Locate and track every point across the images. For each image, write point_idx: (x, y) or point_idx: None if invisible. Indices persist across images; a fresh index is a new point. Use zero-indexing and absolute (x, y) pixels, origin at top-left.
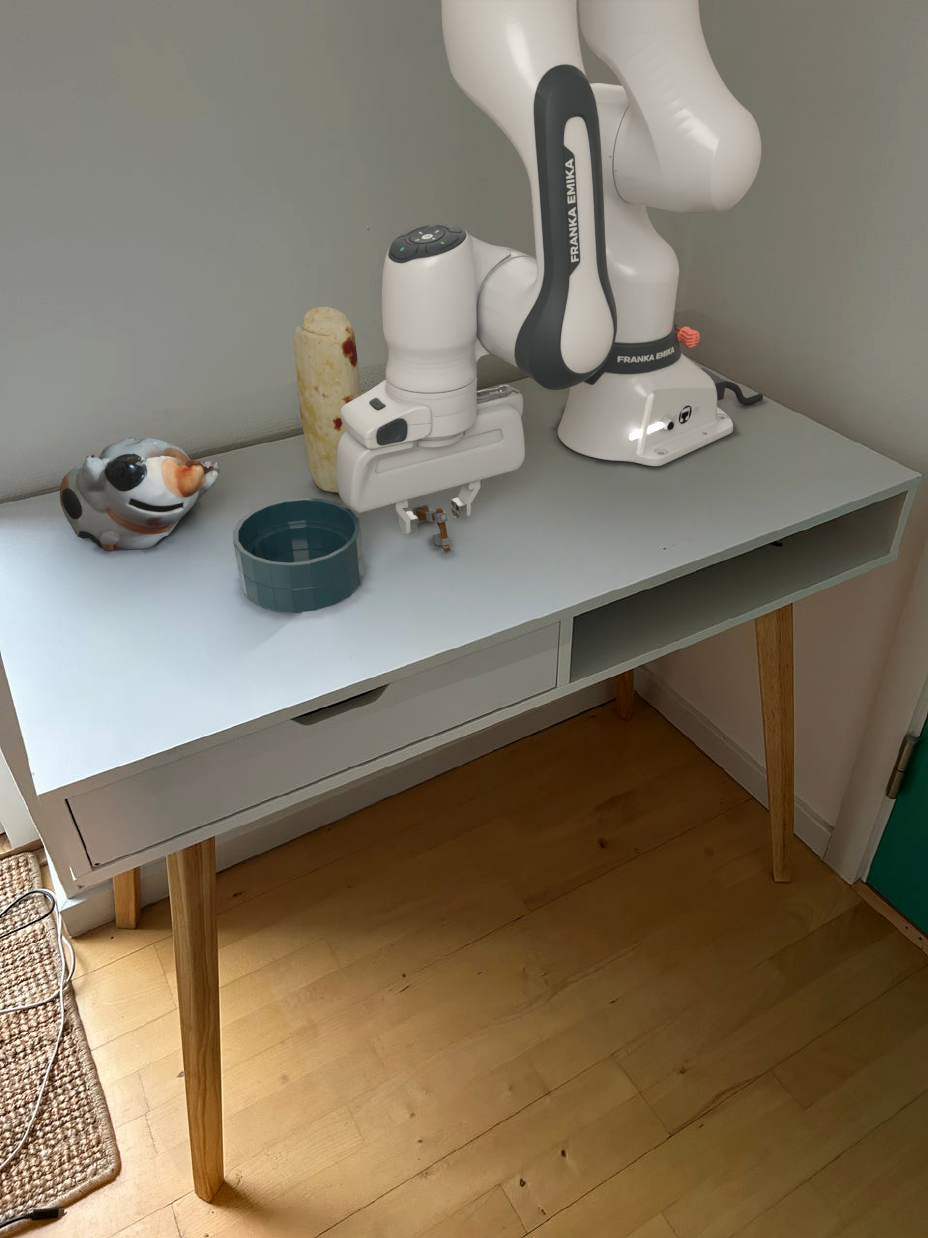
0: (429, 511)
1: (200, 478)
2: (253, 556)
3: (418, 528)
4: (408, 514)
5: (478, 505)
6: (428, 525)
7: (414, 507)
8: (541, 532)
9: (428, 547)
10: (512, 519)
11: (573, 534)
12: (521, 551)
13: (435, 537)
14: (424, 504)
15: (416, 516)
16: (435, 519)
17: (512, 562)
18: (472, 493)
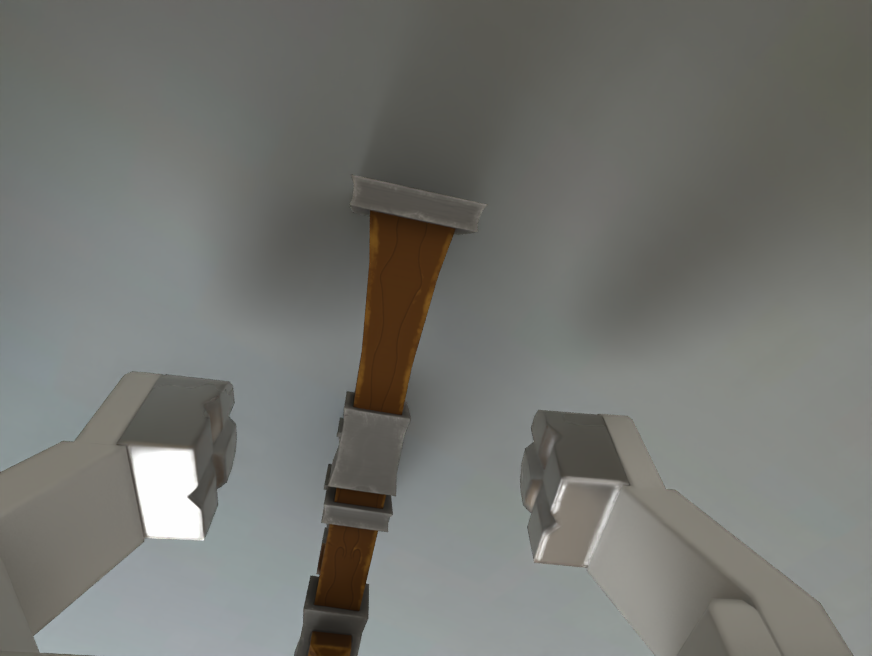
0: (374, 413)
1: None
2: None
3: (228, 473)
4: (152, 481)
5: (828, 244)
6: None
7: (364, 193)
8: (788, 565)
9: (298, 423)
10: (807, 446)
11: (852, 619)
12: (615, 607)
13: (325, 481)
14: (460, 201)
15: (201, 521)
16: (309, 587)
17: (533, 632)
18: (659, 653)
